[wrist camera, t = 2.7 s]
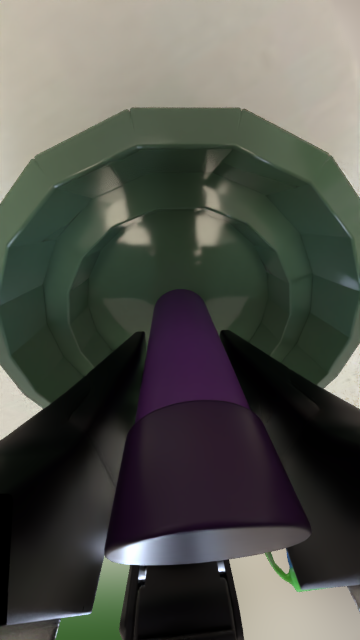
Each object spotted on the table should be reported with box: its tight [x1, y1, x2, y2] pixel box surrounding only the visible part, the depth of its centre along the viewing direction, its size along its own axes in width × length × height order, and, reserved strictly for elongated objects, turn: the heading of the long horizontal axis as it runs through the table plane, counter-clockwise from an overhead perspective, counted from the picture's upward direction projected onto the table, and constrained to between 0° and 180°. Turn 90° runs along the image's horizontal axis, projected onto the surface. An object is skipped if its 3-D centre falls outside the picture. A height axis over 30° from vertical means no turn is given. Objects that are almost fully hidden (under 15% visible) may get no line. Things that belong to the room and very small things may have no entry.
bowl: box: [0, 108, 360, 425], centre depth 9 cm, size 14×14×5 cm
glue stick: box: [104, 289, 312, 565], centre depth 7 cm, size 4×4×9 cm
